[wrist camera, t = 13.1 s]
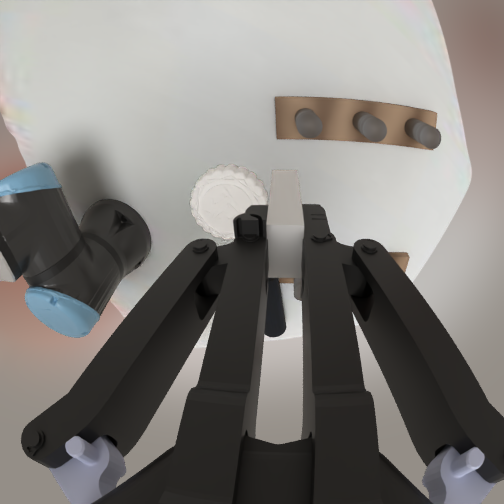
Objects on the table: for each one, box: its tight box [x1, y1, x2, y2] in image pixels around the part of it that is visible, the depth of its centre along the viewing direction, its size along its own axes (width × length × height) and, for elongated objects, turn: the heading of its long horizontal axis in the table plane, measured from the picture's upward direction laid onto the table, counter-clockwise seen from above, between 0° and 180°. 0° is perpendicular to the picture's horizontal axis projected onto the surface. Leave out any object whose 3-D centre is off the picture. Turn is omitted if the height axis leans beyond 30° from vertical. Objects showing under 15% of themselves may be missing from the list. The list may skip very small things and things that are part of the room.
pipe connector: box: [264, 278, 286, 337], centre depth 55 cm, size 12×5×15 cm
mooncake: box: [189, 164, 268, 240], centre depth 43 cm, size 12×12×4 cm
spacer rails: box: [275, 97, 441, 301], centre depth 39 cm, size 24×32×8 cm
